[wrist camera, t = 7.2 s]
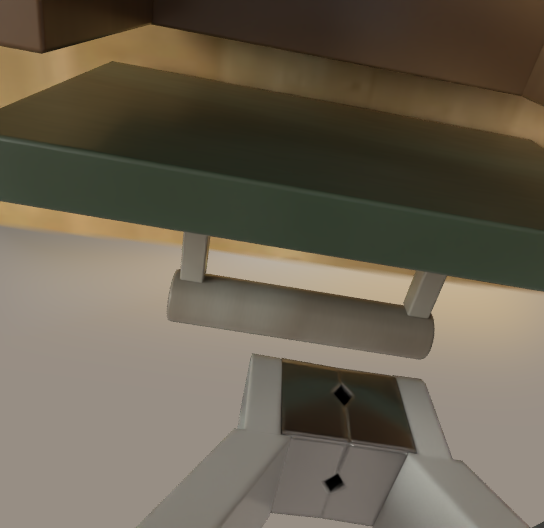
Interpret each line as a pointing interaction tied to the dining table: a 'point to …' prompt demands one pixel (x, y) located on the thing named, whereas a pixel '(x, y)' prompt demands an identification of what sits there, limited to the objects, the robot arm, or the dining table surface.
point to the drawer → (292, 155)
